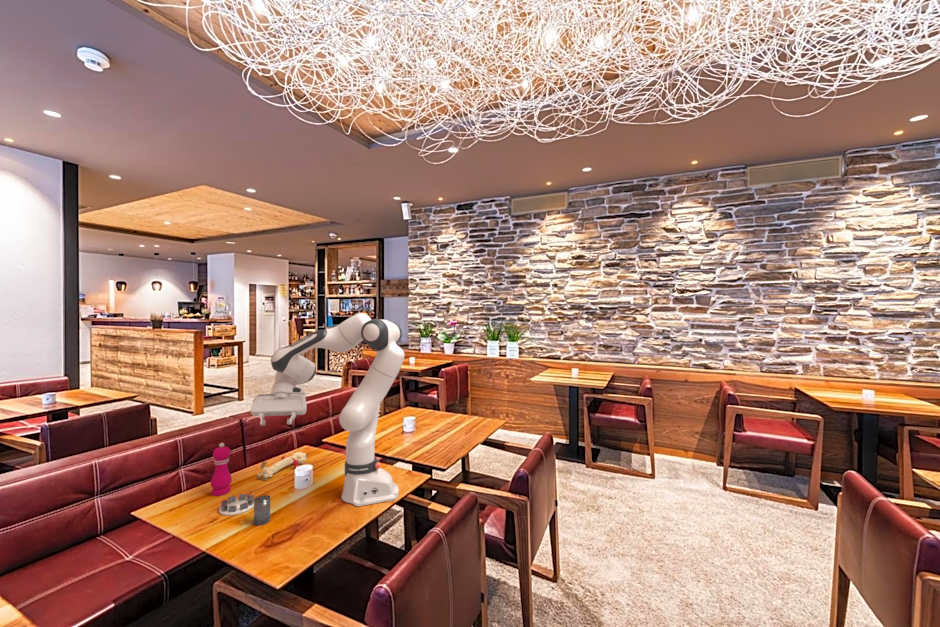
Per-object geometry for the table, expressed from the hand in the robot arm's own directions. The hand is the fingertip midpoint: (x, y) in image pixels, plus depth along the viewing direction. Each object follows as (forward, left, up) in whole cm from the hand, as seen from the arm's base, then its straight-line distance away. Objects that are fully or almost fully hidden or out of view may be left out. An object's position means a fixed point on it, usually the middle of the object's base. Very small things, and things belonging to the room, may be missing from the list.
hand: (275, 424), depth 149 cm
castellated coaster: (+12, +3, -30) cm, 32 cm away
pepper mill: (+23, -11, -30) cm, 39 cm away
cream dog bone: (+4, -31, -30) cm, 43 cm away
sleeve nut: (0, +15, -30) cm, 33 cm away
